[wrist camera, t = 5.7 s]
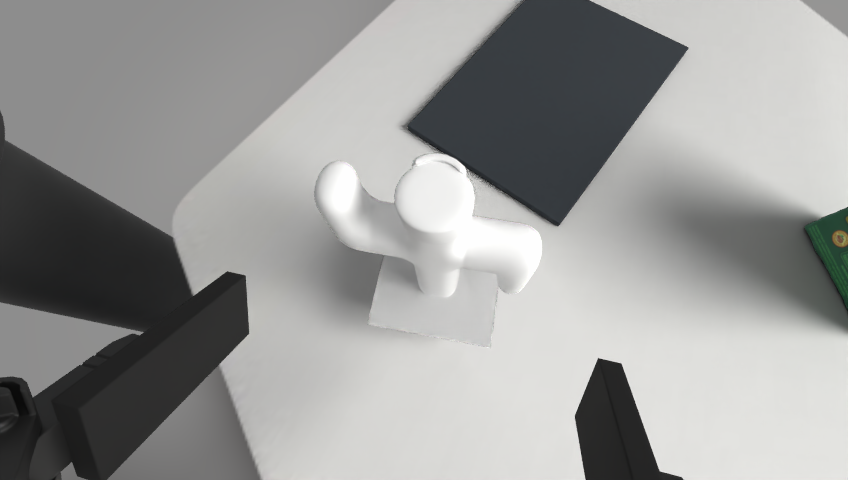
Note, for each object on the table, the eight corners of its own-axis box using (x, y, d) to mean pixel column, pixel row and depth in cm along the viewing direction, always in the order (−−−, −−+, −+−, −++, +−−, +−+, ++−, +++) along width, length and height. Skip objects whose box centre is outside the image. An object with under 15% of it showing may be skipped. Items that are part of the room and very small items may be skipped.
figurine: (501, 357, 26) (566, 314, 12) (360, 330, 27) (274, 262, 13) (514, 253, 29) (580, 119, 15) (384, 232, 30) (332, 88, 16)
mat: (557, 226, 29) (560, 223, 29) (407, 130, 33) (407, 125, 32) (685, 52, 34) (689, 47, 34) (543, -16, 38) (544, -21, 37)
